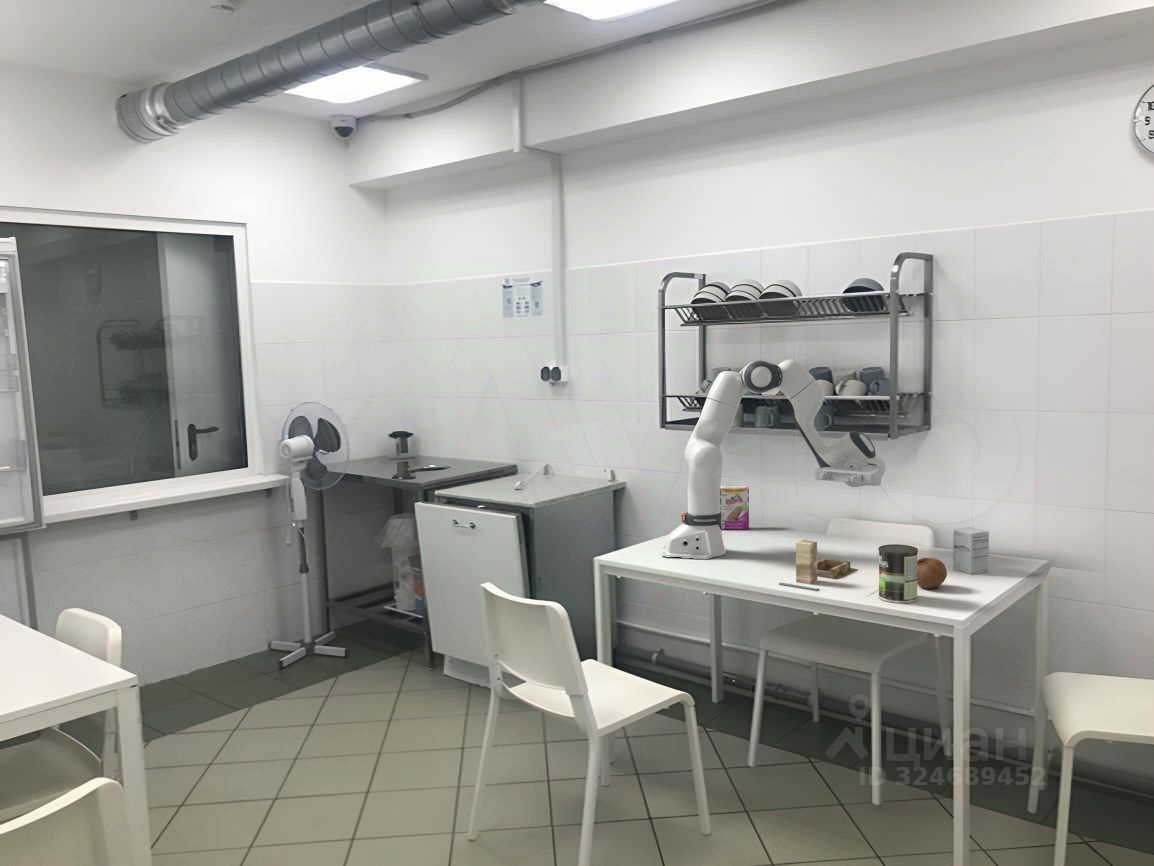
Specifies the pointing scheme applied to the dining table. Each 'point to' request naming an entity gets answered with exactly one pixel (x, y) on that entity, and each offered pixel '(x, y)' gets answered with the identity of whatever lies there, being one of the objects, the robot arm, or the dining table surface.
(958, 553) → the supplement box
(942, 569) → the onion
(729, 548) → the dining table surface
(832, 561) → the walnut chute
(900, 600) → the coffee can
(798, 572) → the maple block
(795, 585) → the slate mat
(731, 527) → the candy bar box
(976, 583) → the dining table surface
